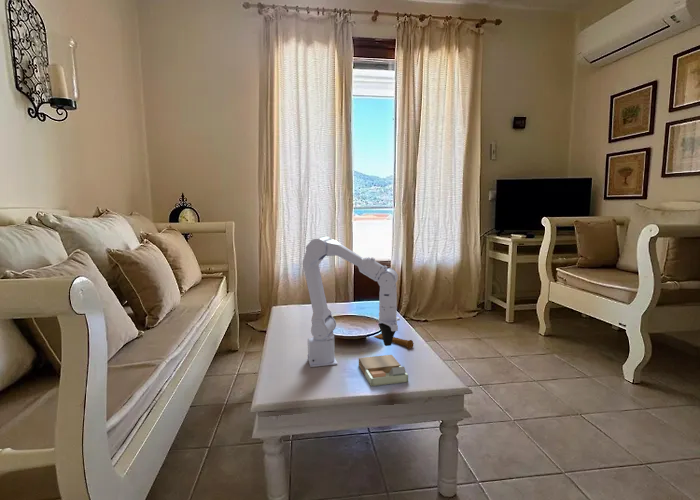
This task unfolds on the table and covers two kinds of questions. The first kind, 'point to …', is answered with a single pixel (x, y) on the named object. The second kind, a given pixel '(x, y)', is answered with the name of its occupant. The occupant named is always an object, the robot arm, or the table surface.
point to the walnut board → (378, 363)
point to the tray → (386, 379)
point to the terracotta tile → (377, 374)
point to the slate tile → (397, 371)
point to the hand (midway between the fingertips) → (387, 345)
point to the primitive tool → (399, 341)
